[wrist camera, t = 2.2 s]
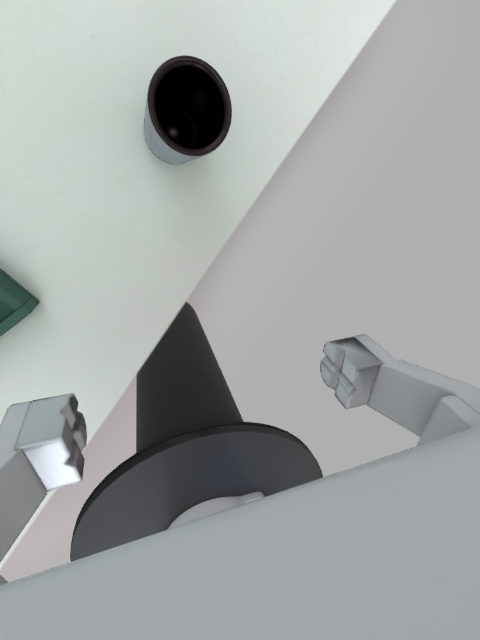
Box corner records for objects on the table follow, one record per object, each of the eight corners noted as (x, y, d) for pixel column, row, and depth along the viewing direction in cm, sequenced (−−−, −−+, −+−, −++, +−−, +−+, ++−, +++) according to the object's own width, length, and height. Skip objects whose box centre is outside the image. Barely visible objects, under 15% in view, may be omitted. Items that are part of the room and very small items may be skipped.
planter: (207, 118, 26) (244, 86, 17) (188, 173, 27) (214, 171, 18) (153, 88, 24) (163, 32, 15) (136, 148, 25) (135, 131, 16)
